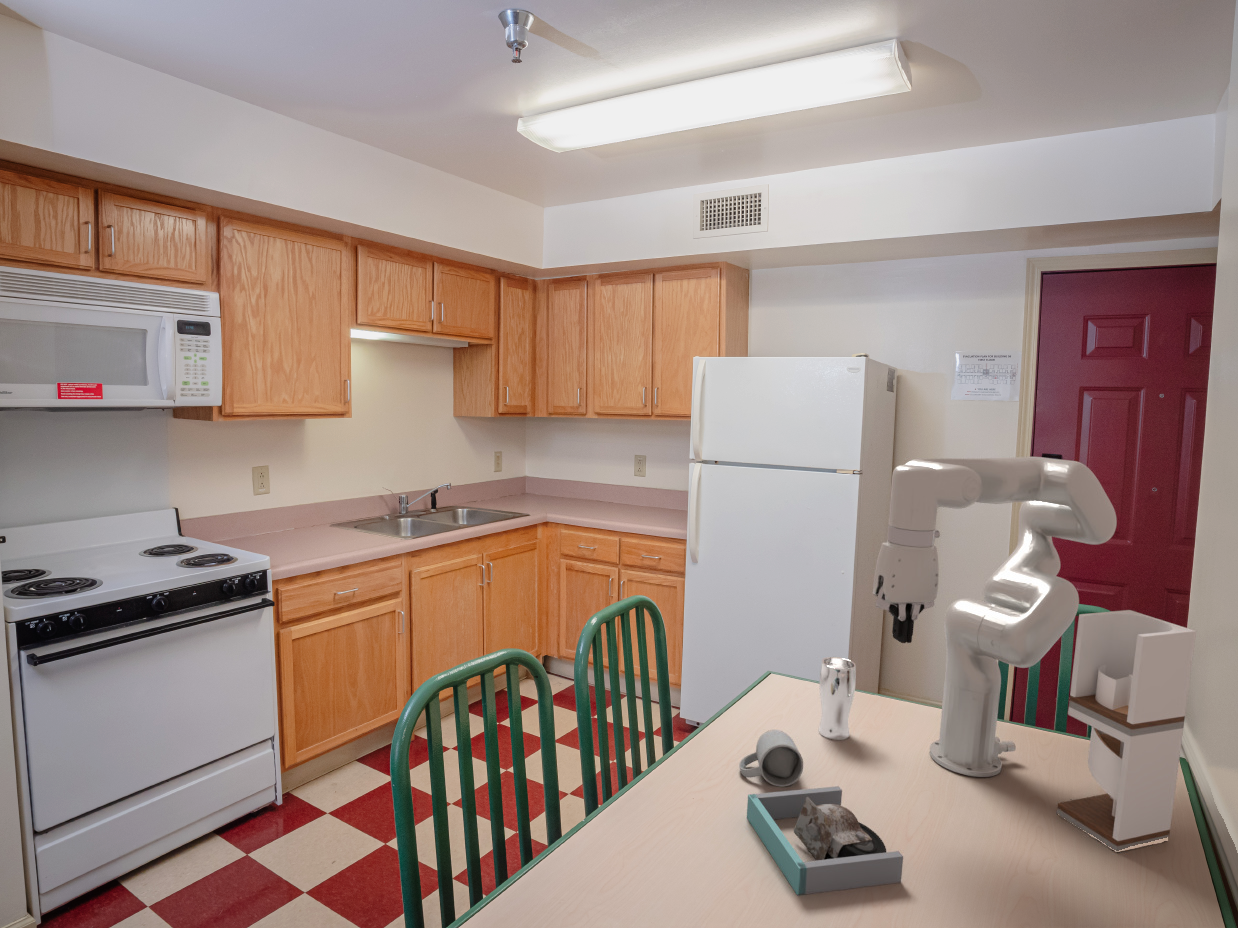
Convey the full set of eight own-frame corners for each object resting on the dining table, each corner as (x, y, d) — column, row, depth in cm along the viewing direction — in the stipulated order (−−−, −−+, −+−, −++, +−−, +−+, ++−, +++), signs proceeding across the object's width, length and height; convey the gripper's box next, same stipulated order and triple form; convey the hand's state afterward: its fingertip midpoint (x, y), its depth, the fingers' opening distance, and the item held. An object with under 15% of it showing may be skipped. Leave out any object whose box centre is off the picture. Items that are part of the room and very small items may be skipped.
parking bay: (836, 808, 123) (838, 785, 123) (901, 881, 106) (903, 856, 105) (746, 817, 120) (748, 794, 119) (797, 894, 102) (799, 868, 102)
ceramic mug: (792, 763, 138) (794, 724, 137) (802, 787, 129) (804, 746, 129) (736, 762, 138) (737, 723, 137) (742, 786, 129) (744, 745, 129)
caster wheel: (887, 880, 110) (839, 890, 105) (836, 824, 119) (790, 831, 114) (903, 844, 108) (855, 852, 103) (850, 790, 118) (804, 796, 113)
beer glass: (851, 728, 152) (857, 659, 151) (850, 744, 146) (856, 671, 144) (817, 722, 155) (822, 654, 153) (814, 737, 148) (819, 666, 146)
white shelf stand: (1106, 804, 128) (1129, 609, 124) (1168, 841, 118) (1196, 630, 114) (1056, 814, 124) (1079, 614, 120) (1116, 853, 114) (1143, 636, 110)
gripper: (935, 532, 131) (926, 631, 133) (859, 533, 128) (851, 634, 130) (963, 541, 124) (953, 646, 126) (883, 542, 120) (875, 650, 123)
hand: (901, 640), depth 128 cm, fingers closed
